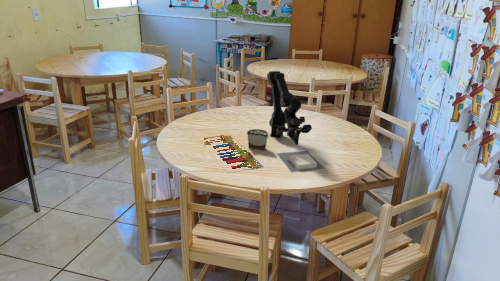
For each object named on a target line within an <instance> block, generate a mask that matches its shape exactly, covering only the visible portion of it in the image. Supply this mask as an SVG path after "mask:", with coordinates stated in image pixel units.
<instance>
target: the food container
mask: <svg viewBox="0 0 500 281" xmlns="http://www.w3.org/2000/svg"><path fill="white" fill-rule="evenodd" d="M246 135H247V142H248V149H251V150H252V149H254V150H259V151H260V150H261V151H266V147H267V141H268V137H269V132H268V131H266V130H264V129H259V128H254V129H253V128H252V129H249V130H247V132H246Z"/></svg>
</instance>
